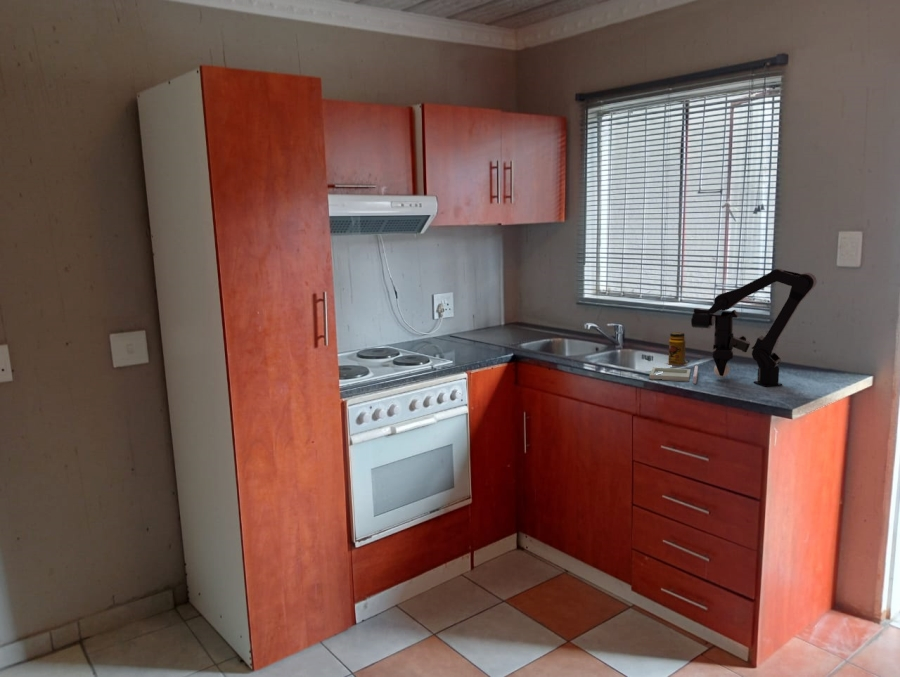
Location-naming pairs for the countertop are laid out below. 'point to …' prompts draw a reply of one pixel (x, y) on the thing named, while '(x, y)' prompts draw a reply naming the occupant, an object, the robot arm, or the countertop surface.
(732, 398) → the countertop surface
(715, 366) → the ball
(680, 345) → the condiment
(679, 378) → the tray
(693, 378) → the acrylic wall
